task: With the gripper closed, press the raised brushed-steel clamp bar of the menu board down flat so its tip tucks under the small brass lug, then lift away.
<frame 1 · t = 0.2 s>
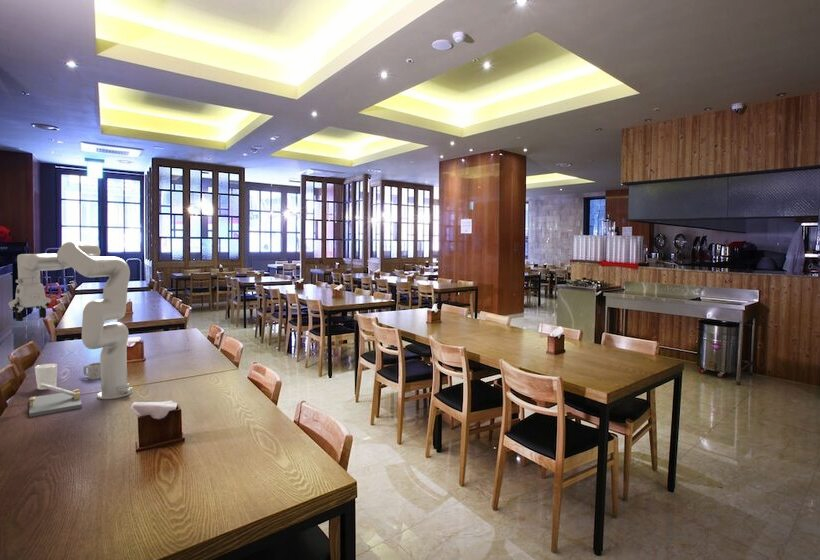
hand: (31, 319, 202), 31 cm above the table, fingers open, 9 cm apart
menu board: (58, 403, 183), on the table
mug: (93, 377, 219), on the table
white cup: (47, 387, 203), on the table
clamp bar: (60, 390, 183), point 6 cm above the table, hinge at 30.0°
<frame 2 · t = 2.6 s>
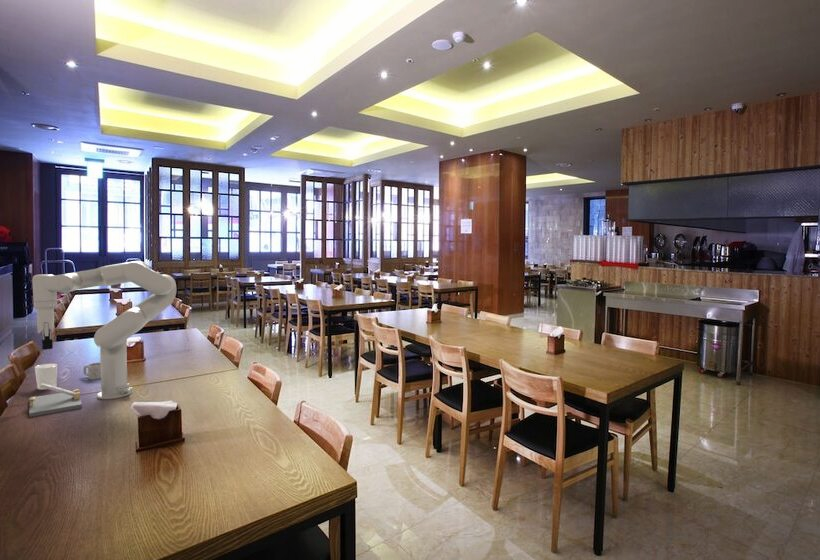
hand: (47, 348, 184), 22 cm above the table, fingers closed
nothing on the table moved.
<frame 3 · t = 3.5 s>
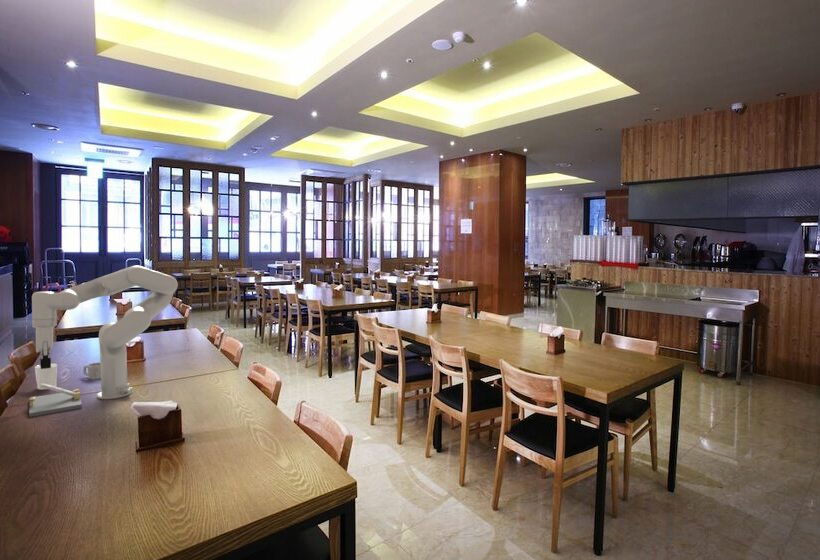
hand: (45, 367, 179), 16 cm above the table, fingers closed
nothing on the table moved.
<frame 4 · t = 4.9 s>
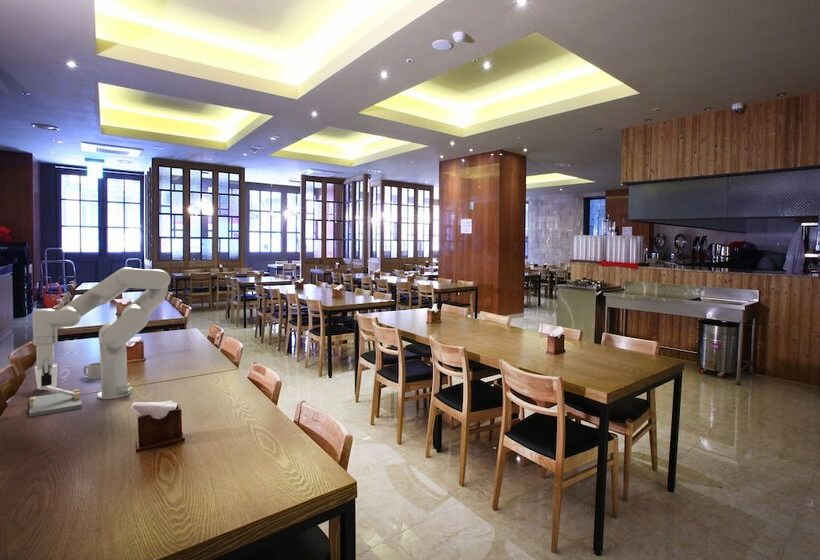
hand: (46, 384, 180), 9 cm above the table, fingers closed
clamp bar: (59, 390, 183), point 5 cm above the table, hinge at 27.4°, touching gripper
everything else where it was.
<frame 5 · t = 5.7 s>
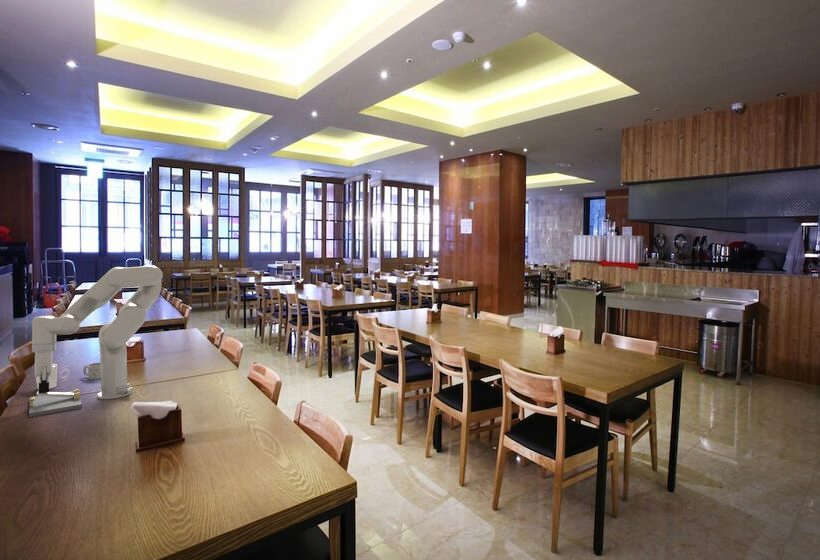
hand: (43, 392, 180), 6 cm above the table, fingers closed
clamp bar: (58, 394, 183), point 4 cm above the table, hinge at 13.6°, touching gripper
everything else where it was.
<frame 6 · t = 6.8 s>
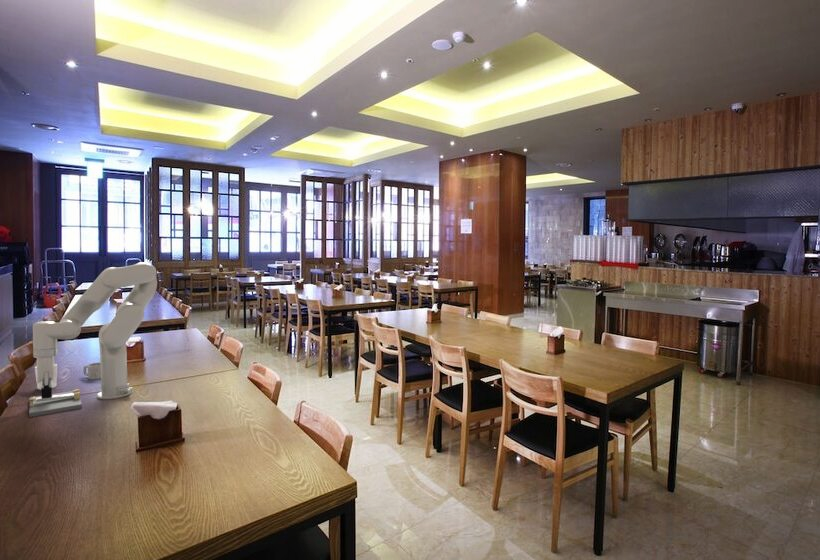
hand: (46, 397, 180), 4 cm above the table, fingers closed
clamp bar: (58, 397, 183), point 3 cm above the table, hinge at 3.3°, touching gripper
everything else where it was.
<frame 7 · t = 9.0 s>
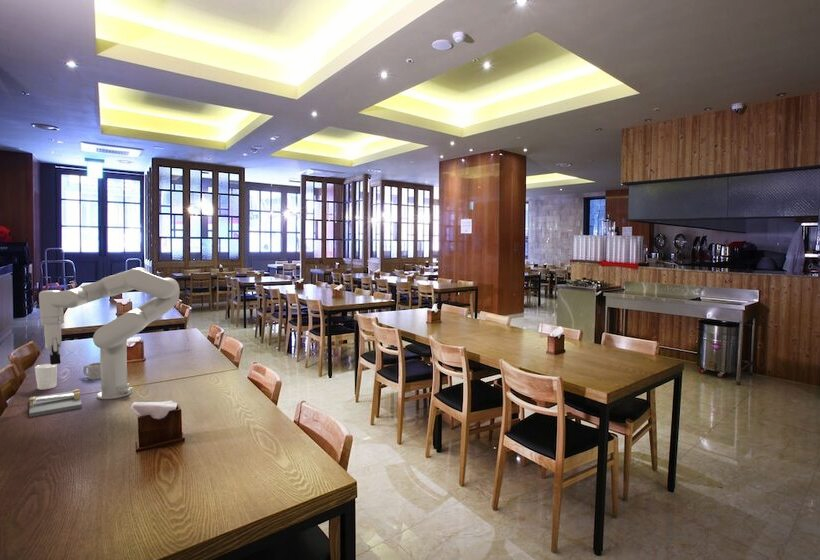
hand: (55, 363, 186), 15 cm above the table, fingers closed
clamp bar: (58, 397, 183), point 3 cm above the table, hinge at 3.2°
everything else where it was.
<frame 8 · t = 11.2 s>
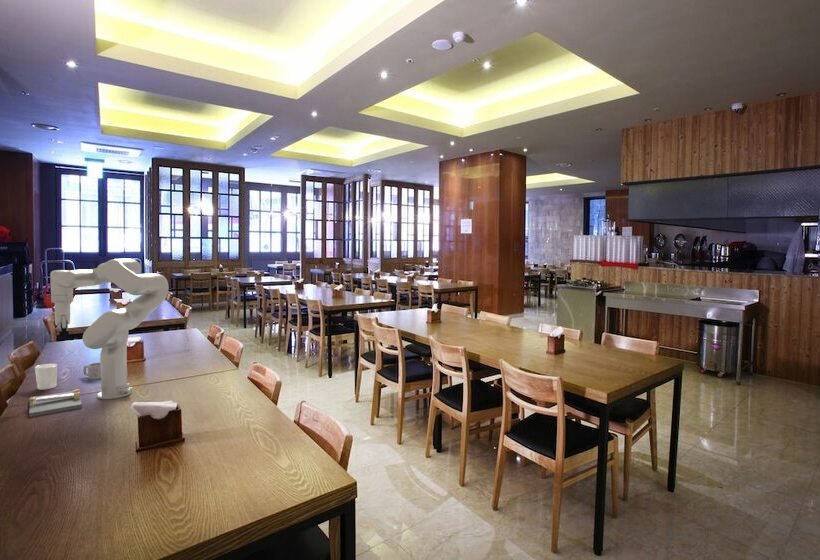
hand: (64, 339, 197), 23 cm above the table, fingers closed
nothing on the table moved.
at the end: clamp bar at +3° (first picture: +30°); mug moved 0.3 cm from its start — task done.
